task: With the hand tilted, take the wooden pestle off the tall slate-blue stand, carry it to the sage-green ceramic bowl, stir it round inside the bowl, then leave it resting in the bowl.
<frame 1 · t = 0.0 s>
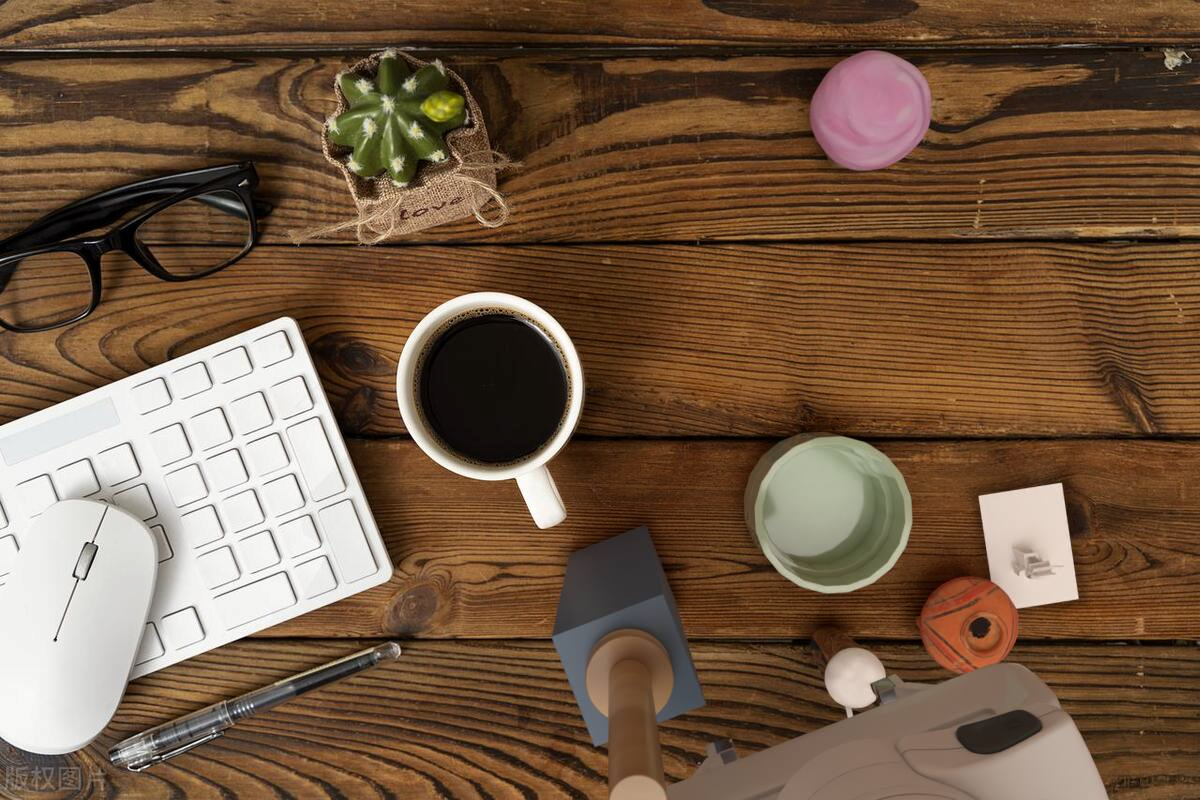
hand: (804, 722, 46), 27 cm above the table, tool pointing down, fingers open, 8 cm apart
milkshake: (826, 648, 73), on the table
stand: (622, 577, 73), on the table
pot: (951, 613, 73), on the table
adhesive hook: (1027, 547, 73), on the table
cupcake: (846, 135, 72), on the table
wooden pestle: (628, 670, 50), point 23 cm above the table, touching stand
bowl: (814, 503, 72), on the table
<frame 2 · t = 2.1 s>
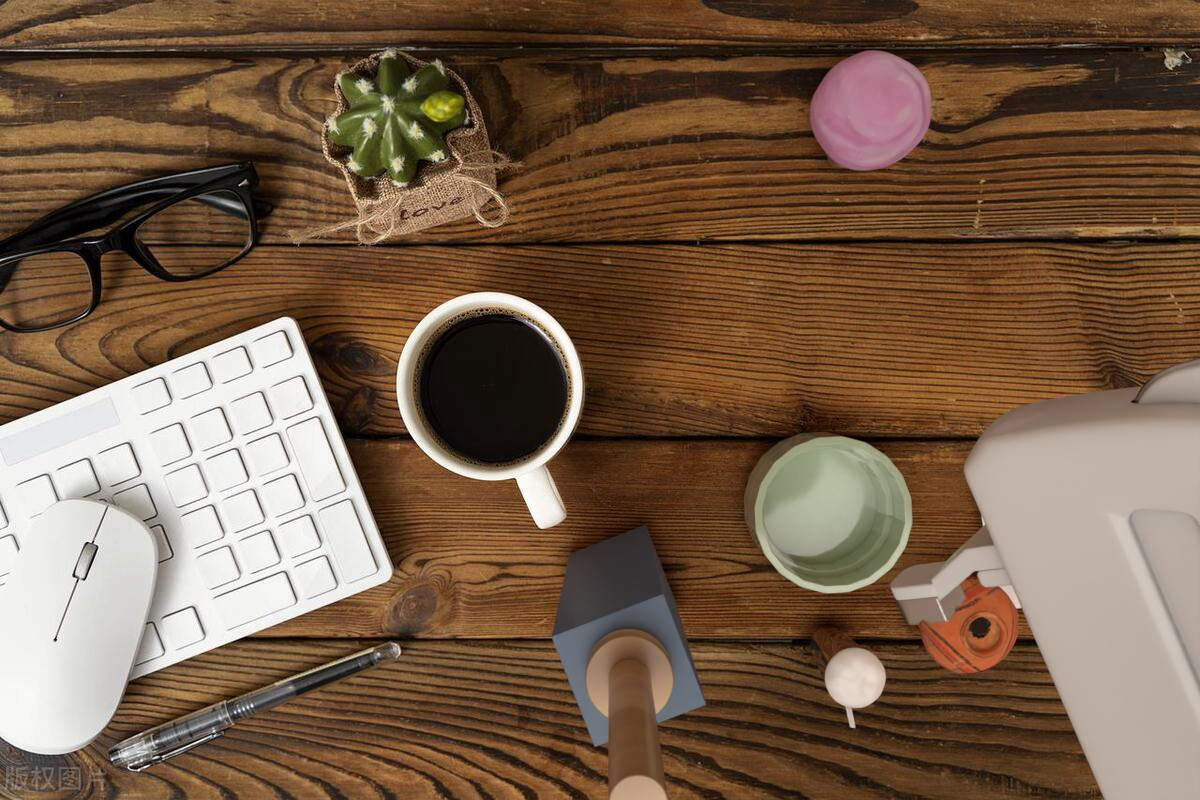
hand: (954, 714, 31), 42 cm above the table, tool tilted 45°, fingers open, 8 cm apart
nothing on the table moved.
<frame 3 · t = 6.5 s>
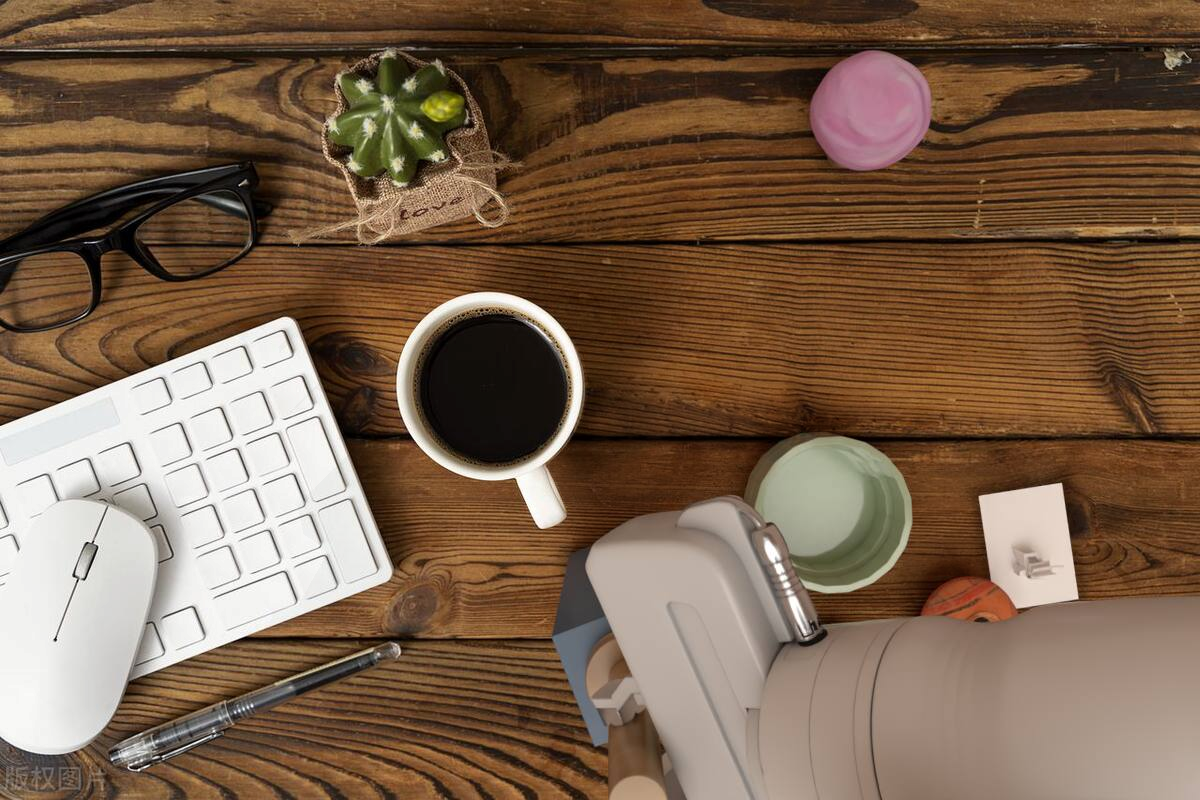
hand: (621, 738, 41), 32 cm above the table, tool tilted 45°, fingers closed on wooden pestle, 2 cm apart
wooden pestle: (628, 670, 50), point 23 cm above the table, touching gripper, stand
everything else where it was.
when the fingers open (9 cm above the table, at t = 19.3 s): wooden pestle stays where it is, resting on bowl.
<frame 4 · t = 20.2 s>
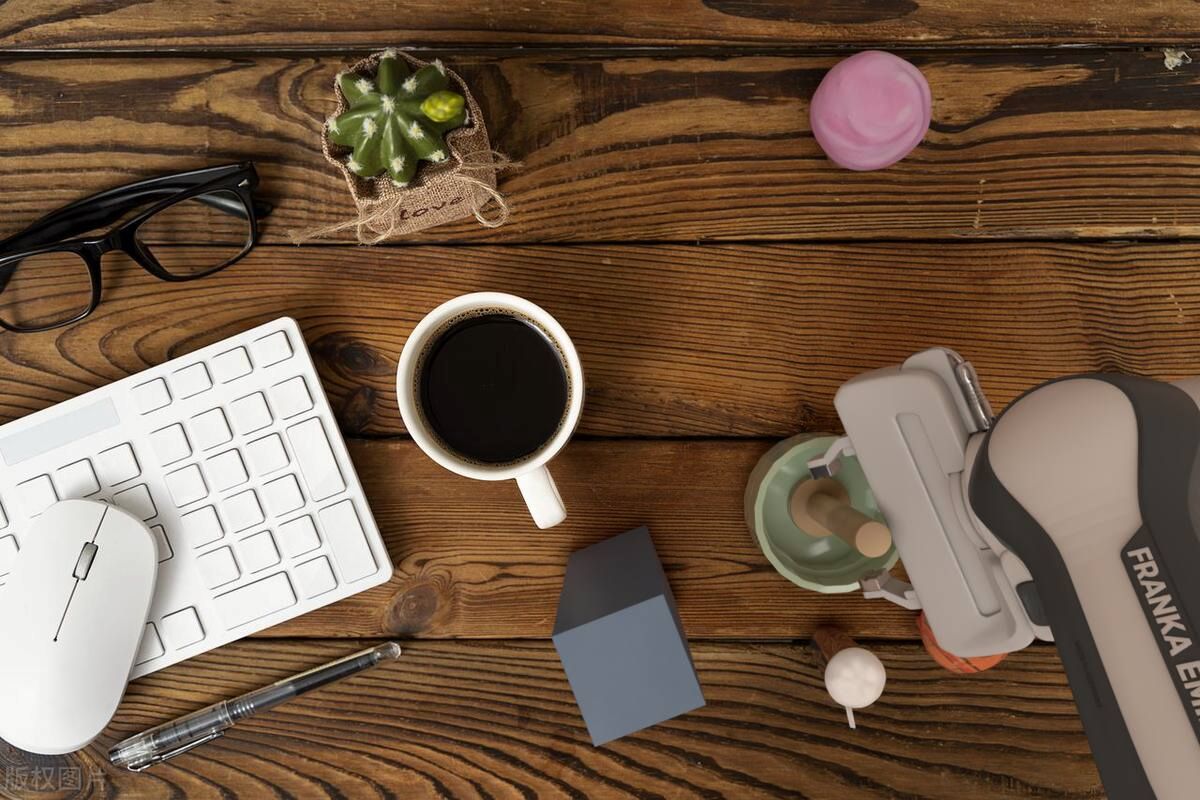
hand: (838, 526, 63), 10 cm above the table, tool tilted 45°, fingers open, 8 cm apart
wooden pestle: (816, 504, 72), point 1 cm above the table, touching bowl
everything else where it was.
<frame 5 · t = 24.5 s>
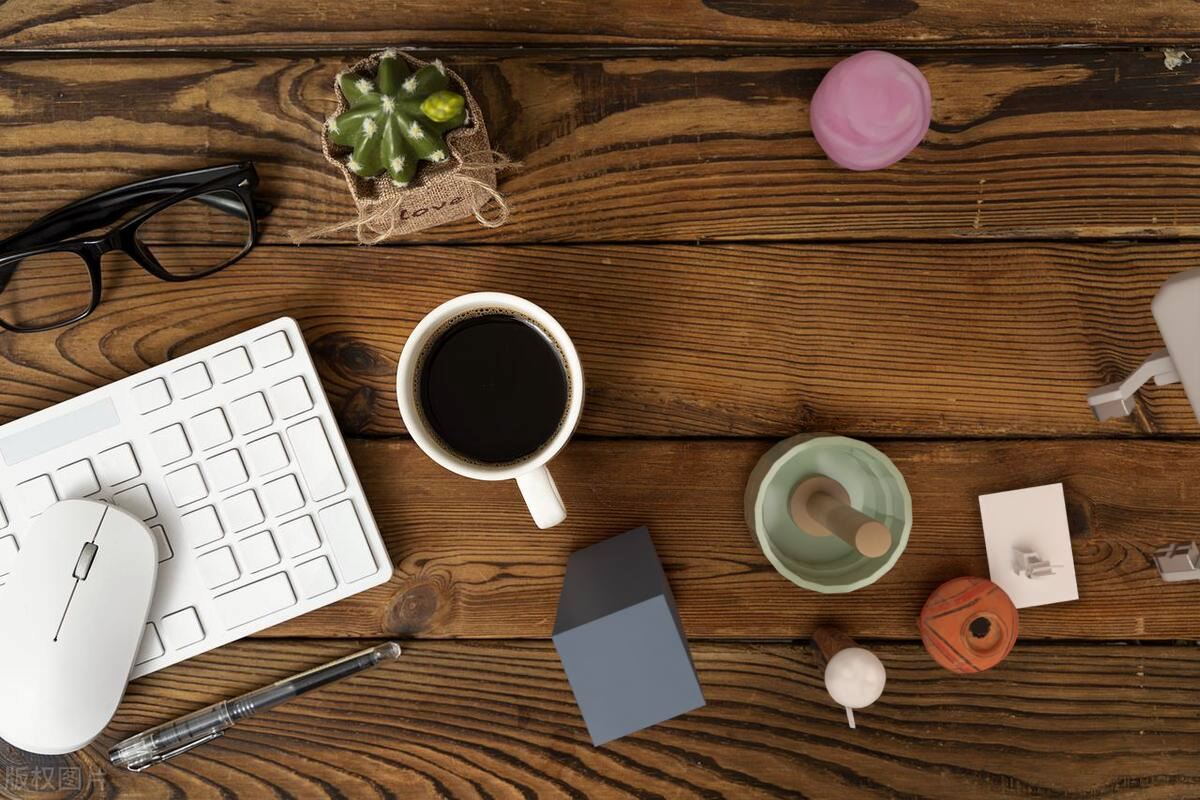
hand: (1125, 484, 47), 25 cm above the table, tool tilted 45°, fingers open, 8 cm apart
nothing on the table moved.
at the end: wooden pestle inside the target area in the bowl (0.0 cm from its centre), point 0.6 cm above the bowl's base; the gripper is holding nothing; wooden pestle touching bowl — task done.
